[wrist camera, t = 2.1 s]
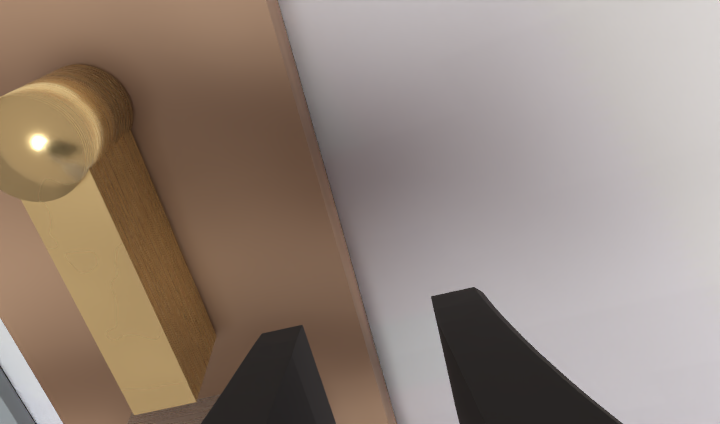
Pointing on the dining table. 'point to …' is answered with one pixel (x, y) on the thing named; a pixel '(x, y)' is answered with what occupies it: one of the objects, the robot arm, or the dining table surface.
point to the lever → (107, 231)
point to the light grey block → (177, 413)
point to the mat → (11, 405)
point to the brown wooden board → (196, 196)
